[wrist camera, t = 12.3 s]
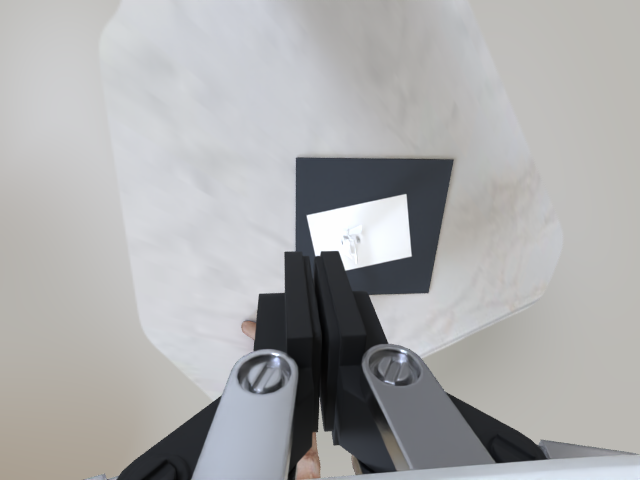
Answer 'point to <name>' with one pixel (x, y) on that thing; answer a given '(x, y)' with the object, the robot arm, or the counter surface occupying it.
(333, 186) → the centre mat
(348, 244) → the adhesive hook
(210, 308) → the counter surface
